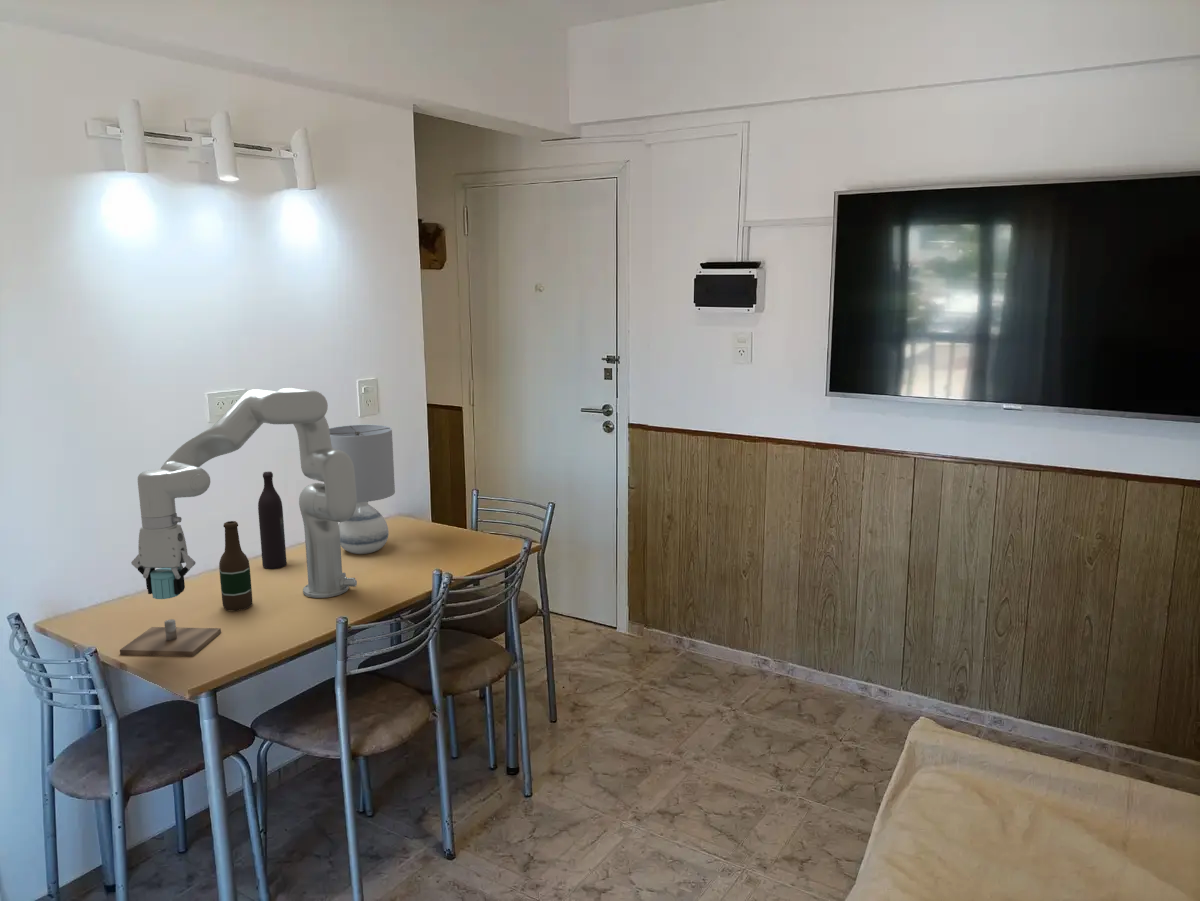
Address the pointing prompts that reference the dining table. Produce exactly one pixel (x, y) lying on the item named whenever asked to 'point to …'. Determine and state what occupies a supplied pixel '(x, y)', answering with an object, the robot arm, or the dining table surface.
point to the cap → (163, 583)
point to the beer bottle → (234, 572)
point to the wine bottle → (271, 525)
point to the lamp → (366, 483)
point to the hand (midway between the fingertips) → (166, 591)
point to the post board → (171, 641)
